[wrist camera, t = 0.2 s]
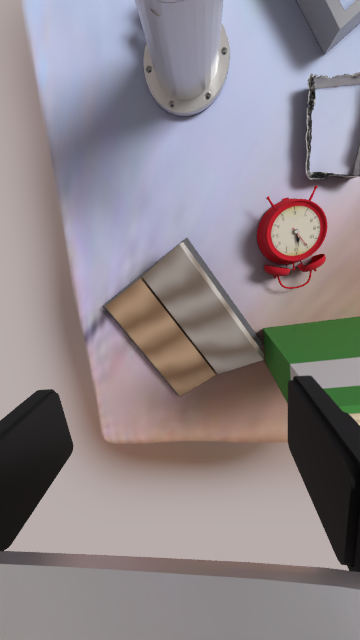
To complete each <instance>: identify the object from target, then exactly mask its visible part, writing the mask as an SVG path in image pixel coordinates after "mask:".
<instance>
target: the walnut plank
mask: <svg viewBox="0 0 360 640" xmlns="http://www.w3.org/2000/svg"><path fill="white" fill-rule="evenodd" d="M105 307H106V308H107V309H108V310H109V312H110V313H111V314H112V315H113V316H114V318H115V319H116V320H117V321H118V322H119V324H120V325H121V326H122V327H123V328H124V330H125V331H126V332H127V333H128V334H129V336H130V337H131V338H132V339H133V340H134V342H135V343H136V344H137V345H138V346H139V348H140V349H141V350H142V351H143V352H144V354H145V355H146V356H147V357H148V358H149V360H150V361H151V362H152V363H153V364H154V366H155V367H156V368H157V369H158V370H159V372H160V373H161V374H162V375H163V376H164V378H165V379H166V380H167V381H168V382H169V384H170V385H171V386H172V387H173V388H174V390H175V391H176V392H177V393H178V394H179V396H180V397H181V396H182V395H184V394H186V393H187V392H189V391H191V390H192V389H194V388H196V387H197V386H199V385H201V384H202V383H204V382H205V381H207V380H209V379H210V378H212V377H214V376H215V375H216V371H215V370H214V369H213V368H212V366H211V365H210V364H209V362H208V361H207V360H206V359H205V357H204V356H203V355H202V353H201V352H200V351H199V350H198V348H197V347H196V346H195V345H194V343H193V342H192V341H191V339H190V338H189V337H188V336H187V334H186V333H185V332H184V330H183V329H182V328H181V327H180V325H179V324H178V323H177V321H176V320H175V319H174V318H173V316H172V315H171V314H170V312H169V311H168V310H167V309H166V307H165V306H164V305H163V304H162V302H161V301H160V300H159V298H158V297H157V296H156V295H155V293H154V292H153V291H152V289H151V288H150V287H149V286H148V284H147V283H146V282H145V280H144V279H143V278H140V279H139V280H138V281H136V282H135V283H134V284H133V285H131V286H130V287H129V288H128V289H126V290H125V291H124V292H123V293H122V294H120V295H119V296H118V297H117V298H115V299H114V300H113V301H112V302H110V303H109V304H108V305H107V306H105Z"/></svg>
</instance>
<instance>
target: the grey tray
mask: <svg viewBox="0 0 360 640" xmlns="http://www.w3.org/2000/svg"><path fill="white" fill-rule="evenodd" d="M296 1H297V3H298V5H299V7H300V9H301V11H302V12H303V14H304V16H305V18H306V20H307V22H308V24H309V26H310V28H311V30H312V32H313V34H314V36H315V38H316V40H317V41H318V43H319V45H320V47H321V49H322V51H323V53H324V55H325V54H326V53H327V52H328V51H329V50H330V49H331V48H332V47H334V46H335V45H336V44H337V43H338V42H339V41H340V40H341V39H343V38H344V37H345V36H346V35H347V34H348V33H349V32H350V31H352V30H353V29H354V28H355V27H356V26H357V25H358V24H359V23H360V0H356V1H355V2H354V3H353V4H352V5H351V6H350V7H349V8H347V9H346V10H345V11H344V9H343V7H342V5H341V3H340V1H339V0H296Z"/></svg>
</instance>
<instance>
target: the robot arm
mask: <svg viewBox="0 0 360 640" xmlns="http://www.w3.org/2000/svg"><path fill="white" fill-rule="evenodd" d="M135 3H136V6H137V10H138V13H139V17H140V21H141V24H142V28H143V32H144V35H145V39H146V45H145V50H144V58H143V59H144V73H145V79H146V82H147V85H148V88H149V90H150V92H151V95H152V96H153V98H154V99H155V101H156V102H157V103H158V104H159V105H160V106H161V107H162V108H163V109H164V110H166V111H167V112H169V113H172V114H174V115H178V116H191V115H194V114H197V113H199V112H201V111H203V110H205V109H206V108H207V107H208V106H210V105H211V104H212V103H213V102H214V100H215V99H216V98H217V97H218V95H219V93H220V92H221V90H222V88H223V86H224V83H225V81H226V78H227V73H228V68H229V60H230V48H229V42H228V37H227V34H226V31H225V28H224V26H223V25H222V9H223V0H135ZM223 54H224V55H223ZM149 72H151V73H149ZM207 98H209V99H208V100H207ZM171 106H174V107H171ZM288 444H289V448H290V451H291V454H292V456H293V458H294V461H295V463H296V465H297V467H298V470H299V472H300V474H301V476H302V479H303V481H304V483H305V486H306V488H307V490H308V493H309V495H310V497H311V499H312V502H313V504H314V506H315V509H316V511H317V513H318V516H319V518H320V520H321V522H322V525H323V527H324V529H325V532H326V534H327V536H328V538H329V541H330V543H331V545H332V548H333V550H334V552H335V554H336V557H337V559H338V561H339V562H340V563H341V564H342V565H347V566H348V568H349V571H346V570H338V569H329V568H320V567H306V566H292V565H278V564H263V563H250V562H231V561H211V560H192V559H171V558H152V557H129V556H108V555H86V554H63V553H62V554H61V553H39V552H12V551H4V550H5V549H7V548H8V547H9V546H10V545H11V544H12V542H13V541H14V539H15V538H16V536H17V535H18V533H19V532H20V530H21V529H22V527H23V526H24V524H25V523H26V521H27V520H28V518H29V517H30V515H31V514H32V512H33V511H34V509H35V508H36V506H37V505H38V503H39V502H40V500H41V499H42V497H43V496H44V494H45V493H46V491H47V490H48V488H49V487H50V485H51V484H52V482H53V481H54V479H55V478H56V476H57V475H58V473H59V472H60V470H61V468H62V467H63V466H64V464H65V463H66V461H67V460H68V458H69V457H70V455H71V453H72V451H73V442H72V439H71V436H70V432H69V429H68V425H67V422H66V418H65V415H64V411H63V408H62V405H61V401H60V398H59V395H58V394H57V393H56V392H55V391H54V390H52V389H50V390H38V391H36V392H35V393H34V394H32V395H31V396H30V397H29V398H27V399H26V400H25V401H24V402H23V403H21V404H20V405H19V406H18V407H16V408H15V409H14V410H13V411H12V412H10V413H9V414H8V415H7V416H6V417H4V418H3V419H2V420H1V421H0V640H360V425H359V424H358V423H357V422H356V421H355V420H354V419H353V418H352V417H351V416H350V415H349V414H348V413H347V412H343V411H342V410H341V409H340V408H339V407H338V405H337V404H336V403H335V402H334V401H333V400H332V399H331V397H330V396H329V395H328V394H327V393H326V392H325V391H324V389H323V388H322V387H321V386H320V385H319V384H318V383H317V381H316V380H315V379H314V378H313V377H312V376H310V375H307V376H294V377H293V380H289V381H288Z"/></svg>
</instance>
